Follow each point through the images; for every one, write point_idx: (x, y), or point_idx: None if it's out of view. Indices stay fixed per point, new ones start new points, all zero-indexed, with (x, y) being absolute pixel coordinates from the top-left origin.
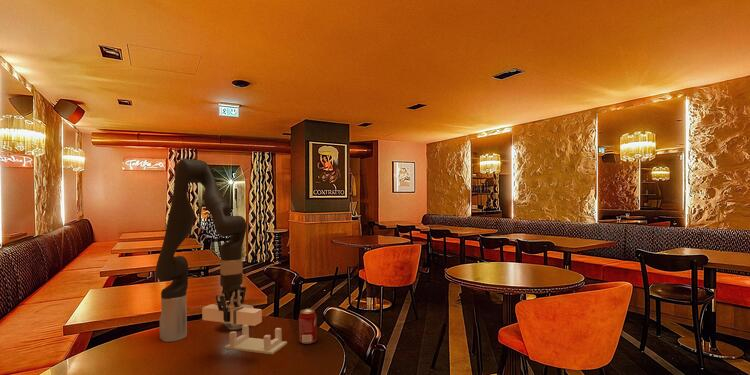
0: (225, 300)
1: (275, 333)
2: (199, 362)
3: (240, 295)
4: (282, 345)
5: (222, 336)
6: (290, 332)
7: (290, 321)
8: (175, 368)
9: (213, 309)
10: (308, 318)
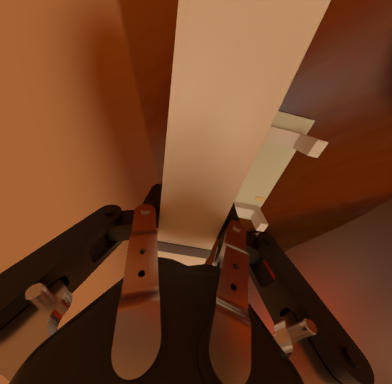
0: (150, 256)
1: (257, 217)
2: (167, 77)
3: (272, 290)
4: (239, 216)
5: (366, 32)
6: (308, 210)
7: (386, 196)
8: (120, 12)
9: (169, 125)
10: (253, 282)
